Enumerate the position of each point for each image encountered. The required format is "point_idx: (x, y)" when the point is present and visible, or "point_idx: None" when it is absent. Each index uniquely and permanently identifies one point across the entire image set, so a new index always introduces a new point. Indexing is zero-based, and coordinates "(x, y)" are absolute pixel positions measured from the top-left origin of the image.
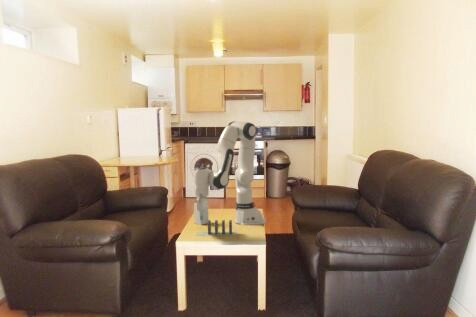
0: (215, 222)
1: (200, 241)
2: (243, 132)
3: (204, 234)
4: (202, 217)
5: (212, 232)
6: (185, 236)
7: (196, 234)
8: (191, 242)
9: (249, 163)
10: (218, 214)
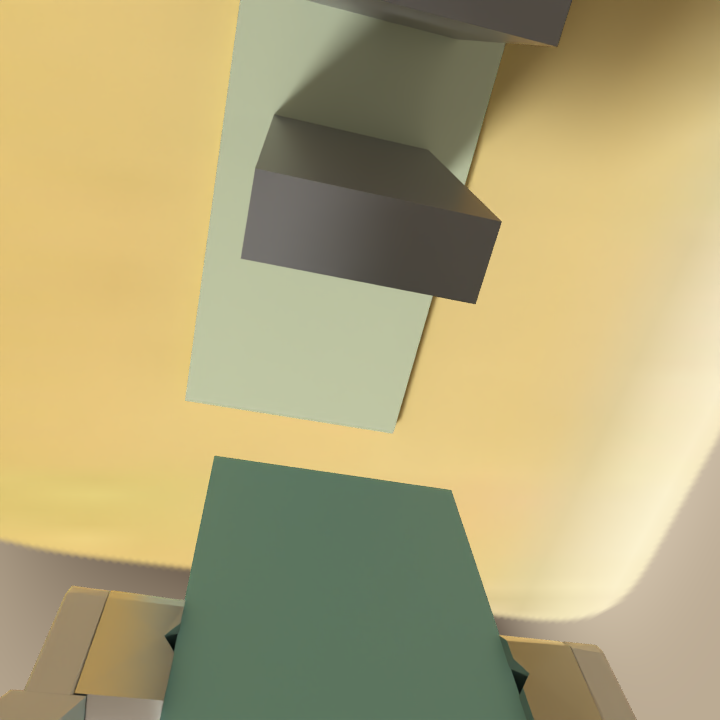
0: (562, 18)
1: (698, 365)
2: None
3: None
4: (471, 553)
5: (288, 81)
6: None
7: (343, 416)
8: (677, 493)
9: None
10: None
